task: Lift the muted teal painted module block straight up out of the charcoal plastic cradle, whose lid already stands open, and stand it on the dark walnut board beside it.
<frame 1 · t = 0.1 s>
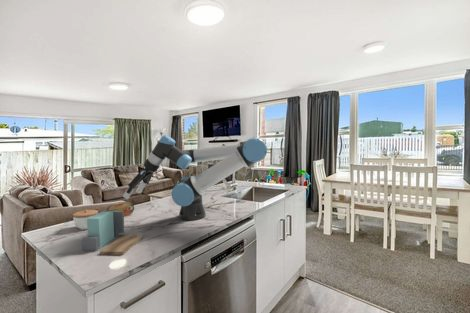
hand: (131, 194, 126), 15 cm above the worktop, tool tilted 35°, fingers open, 13 cm apart
walnut board: (122, 245, 99), on the worktop
module block: (101, 242, 102), resting in module cradle
tin: (120, 217, 139), on the worktop
module cradle: (101, 242, 102), on the worktop
lidded jar: (86, 227, 122), on the worktop
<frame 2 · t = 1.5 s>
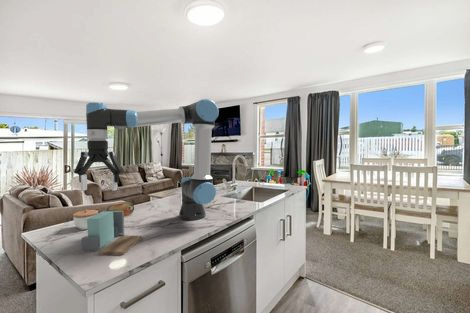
hand: (99, 190, 101), 23 cm above the worktop, tool pointing down, fingers open, 13 cm apart
nothing on the worktop moved.
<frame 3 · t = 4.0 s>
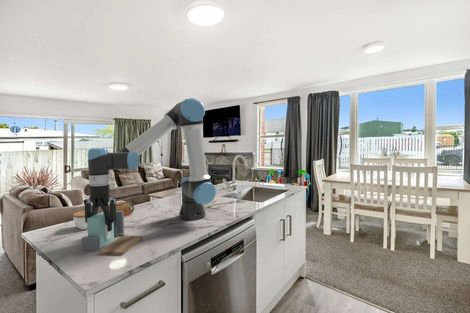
hand: (101, 238, 102), 2 cm above the worktop, tool pointing down, fingers closed on module block, 5 cm apart
module block: (101, 242, 102), resting in module cradle, touching gripper
everything else where it was.
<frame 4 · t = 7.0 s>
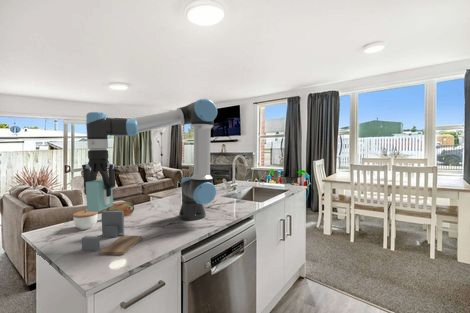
hand: (100, 204, 102), 17 cm above the worktop, tool pointing down, fingers closed on module block, 5 cm apart
module block: (100, 208, 102), point 15 cm above the worktop, touching gripper
everything else where it was.
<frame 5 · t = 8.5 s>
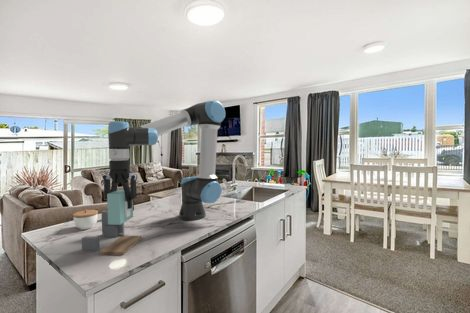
hand: (121, 216, 98), 12 cm above the worktop, tool pointing down, fingers closed on module block, 5 cm apart
module block: (121, 220, 98), point 11 cm above the worktop, touching gripper
everything else where it was.
when the fingers open (4 cm above the worktop, at t = 10.0 s): module block stays where it is, resting on walnut board.
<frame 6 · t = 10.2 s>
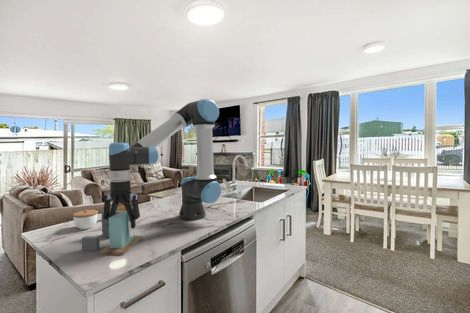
hand: (122, 235, 98), 4 cm above the worktop, tool pointing down, fingers open, 7 cm apart
module block: (122, 242, 99), point 1 cm above the worktop, touching walnut board
everything else where it was.
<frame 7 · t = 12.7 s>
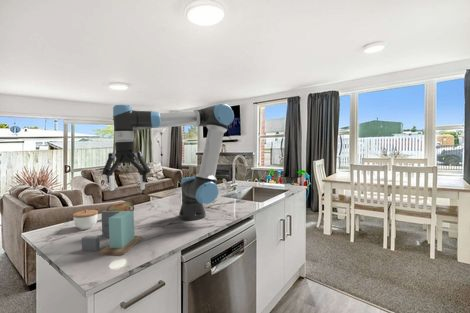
hand: (127, 190, 104), 22 cm above the worktop, tool pointing down, fingers open, 13 cm apart
nothing on the worktop moved.
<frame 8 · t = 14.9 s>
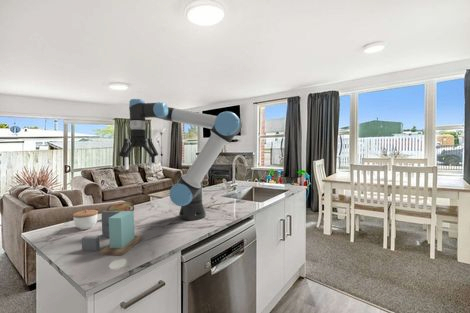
hand: (139, 169, 127), 29 cm above the worktop, tool pointing down, fingers open, 13 cm apart
nothing on the worktop moved.
at the end: module block inside the target area on the walnut board (0.0 cm from its centre), point 1.2 cm above the walnut board's base; module block tilted 0°; the gripper is holding nothing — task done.
